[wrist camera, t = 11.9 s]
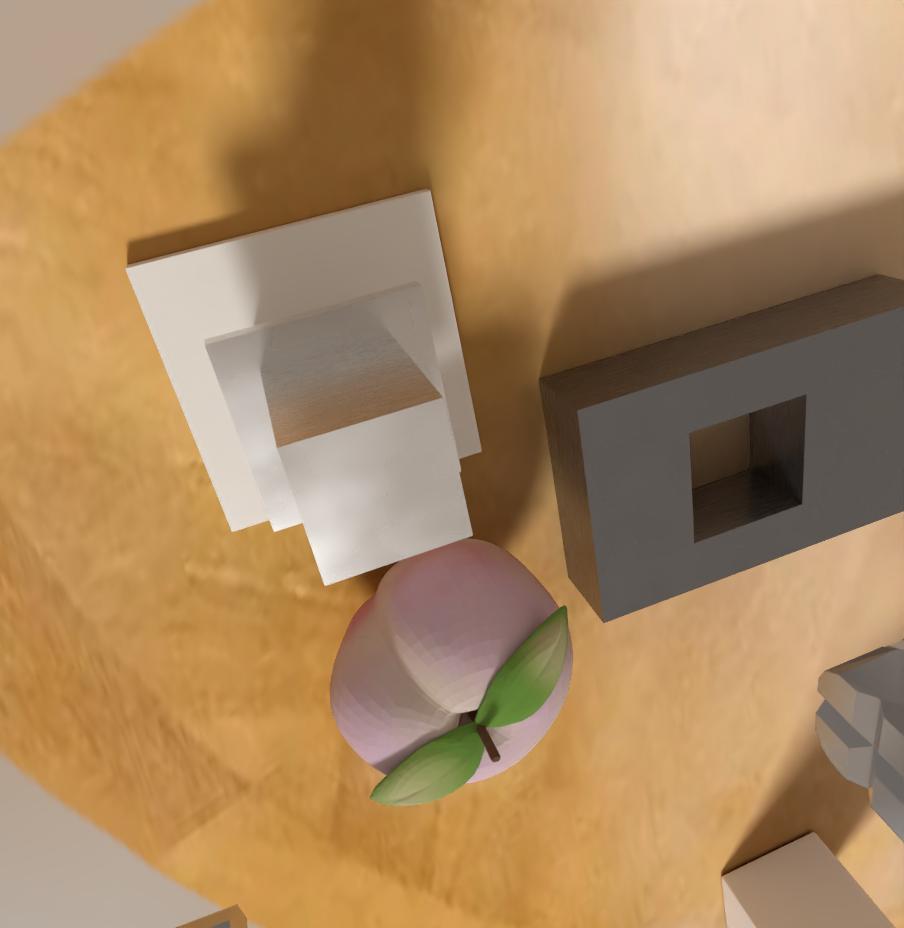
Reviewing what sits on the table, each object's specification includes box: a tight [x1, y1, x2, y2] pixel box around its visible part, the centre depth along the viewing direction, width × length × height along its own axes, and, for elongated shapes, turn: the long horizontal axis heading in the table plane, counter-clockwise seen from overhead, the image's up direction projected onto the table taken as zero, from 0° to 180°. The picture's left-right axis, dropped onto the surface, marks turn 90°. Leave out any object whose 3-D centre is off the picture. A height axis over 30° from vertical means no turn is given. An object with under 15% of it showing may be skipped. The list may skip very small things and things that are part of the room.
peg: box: [205, 281, 473, 586], centre depth 22 cm, size 6×6×10 cm
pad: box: [125, 189, 482, 532], centre depth 27 cm, size 10×10×1 cm
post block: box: [539, 274, 904, 623], centre depth 32 cm, size 10×16×4 cm, turn 102°
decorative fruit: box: [330, 538, 573, 806], centre depth 28 cm, size 9×8×10 cm
